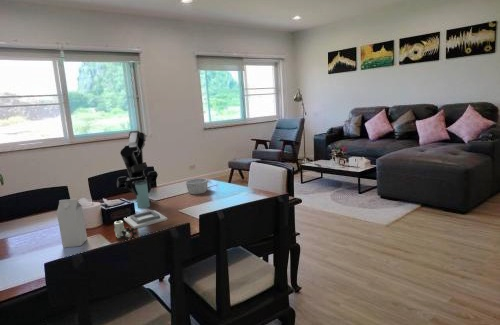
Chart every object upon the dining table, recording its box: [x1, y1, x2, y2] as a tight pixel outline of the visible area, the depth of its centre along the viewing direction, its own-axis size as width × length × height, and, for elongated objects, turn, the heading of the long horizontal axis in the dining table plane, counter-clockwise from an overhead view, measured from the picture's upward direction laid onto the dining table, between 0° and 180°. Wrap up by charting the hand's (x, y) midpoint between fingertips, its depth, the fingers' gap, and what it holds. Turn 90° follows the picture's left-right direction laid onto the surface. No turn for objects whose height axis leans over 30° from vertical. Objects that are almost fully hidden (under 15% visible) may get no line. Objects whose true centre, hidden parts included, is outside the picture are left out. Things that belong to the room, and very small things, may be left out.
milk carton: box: [56, 198, 88, 249], centre depth 143 cm, size 7×7×19 cm
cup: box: [135, 181, 151, 209], centre depth 166 cm, size 6×6×12 cm
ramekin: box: [185, 178, 208, 195], centre depth 213 cm, size 13×13×7 cm
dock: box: [123, 210, 168, 230], centre depth 168 cm, size 16×16×2 cm
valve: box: [113, 220, 138, 242], centre depth 146 cm, size 7×7×12 cm
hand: (143, 193), depth 165 cm, fingers closed on cup, 5 cm apart
